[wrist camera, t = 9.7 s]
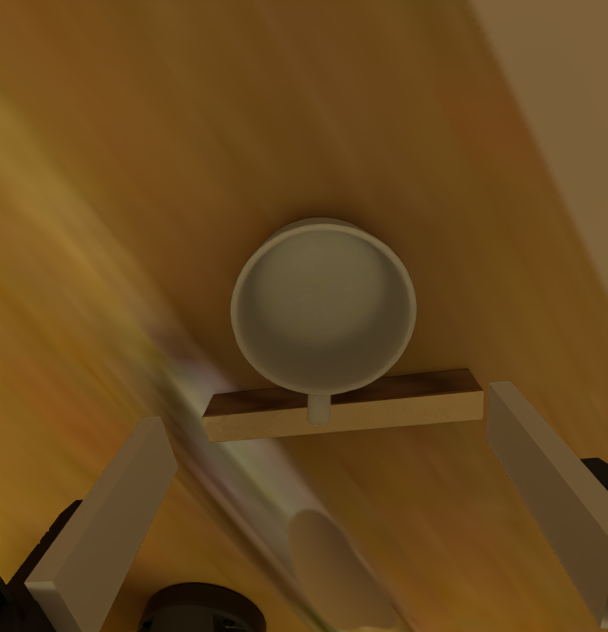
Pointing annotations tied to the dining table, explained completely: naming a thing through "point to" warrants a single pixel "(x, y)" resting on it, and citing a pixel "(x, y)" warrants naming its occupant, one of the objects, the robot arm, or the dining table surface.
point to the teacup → (323, 310)
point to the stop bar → (347, 407)
